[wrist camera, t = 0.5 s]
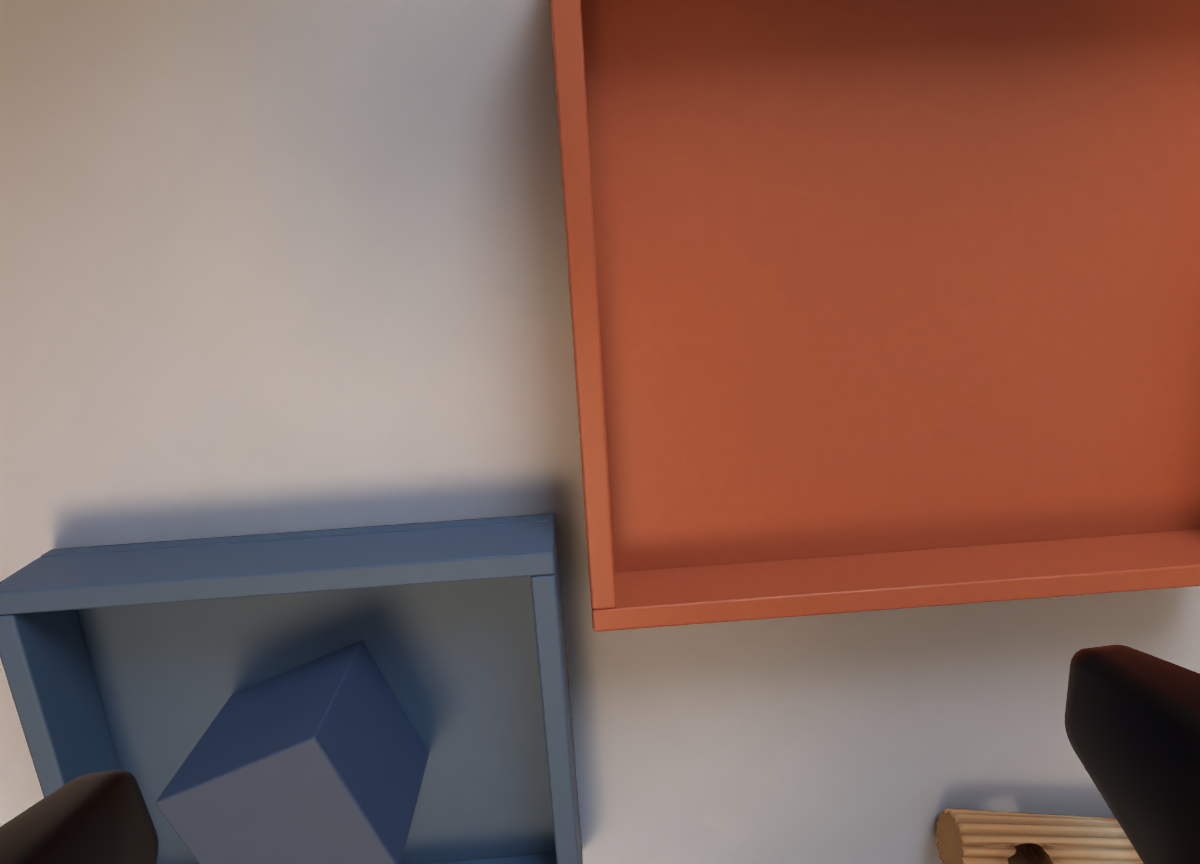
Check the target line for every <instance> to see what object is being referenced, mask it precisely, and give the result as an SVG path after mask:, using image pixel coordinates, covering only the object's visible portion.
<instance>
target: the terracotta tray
mask: <svg viewBox="0 0 1200 864" xmlns="http://www.w3.org/2000/svg"><path fill="white" fill-rule="evenodd" d="M550 12H551V26H552V41H553V55H554V70H555V84H556V99H557V113H558V128H559V142H560V157H561V171H562V186H563V200H564V215H565V229H566V244H567V258H568V273H569V287H570V302H571V316H572V331H573V345H574V360H575V374H576V389H577V403H578V418H579V432H580V447H581V461H582V476H583V490H584V505H585V519H586V534H587V549H588V563H589V578H590V592H591V606H592V621H593V629H594V631H609V630H622V629H636V628H649V627H662V626H675V625H688V624H701V623H715V622H728V621H741V620H754V619H767V618H780V617H794V616H807V615H820V614H833V613H846V612H859V611H873V610H886V609H899V608H912V607H925V606H938V605H952V604H965V603H978V602H991V601H1004V600H1017V599H1031V598H1044V597H1057V596H1070V595H1083V594H1097V593H1110V592H1123V591H1136V590H1149V589H1162V588H1176V587H1189V586H1200V0H550Z"/></svg>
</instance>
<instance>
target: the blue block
mask: <svg viewBox="0 0 1200 864" xmlns="http://www.w3.org/2000/svg"><path fill="white" fill-rule="evenodd" d="M428 757H429V752H428V750H427V748H426V747H425V745H424V743H423V742H422V740H421V738H420V737H419V735H418V733H417V731H416V730H415V728H414V726H413V725H412V723H411V721H410V720H409V718H408V716H407V715H406V713H405V711H404V710H403V708H402V706H401V705H400V703H399V701H398V700H397V698H396V696H395V694H394V693H393V691H392V689H391V688H390V686H389V684H388V683H387V681H386V679H385V678H384V676H383V674H382V673H381V671H380V669H379V668H378V666H377V664H376V663H375V661H374V659H373V657H372V656H371V654H370V652H369V651H368V649H367V647H366V646H365V644H364V642H363V641H359V642H356V643H354V644H352V645H349V646H347V647H344V648H342V649H340V650H337V651H335V652H332V653H330V654H328V655H325V656H323V657H320V658H318V659H316V660H313V661H311V662H309V663H306V664H304V665H301V666H299V667H297V668H294V669H292V670H289V671H287V672H285V673H282V674H280V675H277V676H275V677H273V678H270V679H268V680H265V681H263V682H261V683H258V684H256V685H254V686H251V687H249V688H246V689H244V690H242V691H239V692H237V693H234V694H232V695H231V696H230V698H229V699H228V701H227V702H226V703H225V705H224V706H223V708H222V709H221V710H220V712H219V713H218V715H217V716H216V717H215V719H214V720H213V722H212V723H211V724H210V726H209V727H208V729H207V730H206V732H205V733H204V734H203V736H202V737H201V739H200V740H199V741H198V743H197V744H196V746H195V747H194V748H193V750H192V751H191V753H190V754H189V755H188V757H187V758H186V760H185V761H184V762H183V764H182V765H181V767H180V768H179V769H178V771H177V772H176V774H175V775H174V777H173V778H172V779H171V781H170V782H169V784H168V785H167V786H166V788H165V789H164V791H163V792H162V793H161V795H160V796H159V798H158V799H157V800H156V802H155V804H156V806H157V807H158V808H159V810H160V811H161V812H162V814H163V815H164V817H165V818H166V819H167V821H168V822H169V823H170V825H171V826H172V827H173V829H174V830H175V831H176V833H177V834H178V836H179V837H180V838H181V840H182V841H183V842H184V844H185V845H186V846H187V848H188V849H189V850H190V852H191V853H192V855H193V856H194V857H195V859H196V860H197V861H198V863H199V864H401V861H402V858H403V854H404V850H405V846H406V842H407V838H408V834H409V830H410V827H411V823H412V819H413V815H414V811H415V807H416V803H417V799H418V796H419V792H420V788H421V784H422V780H423V776H424V772H425V768H426V765H427V761H428Z"/></svg>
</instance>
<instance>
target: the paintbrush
mask: <svg viewBox="0 0 1200 864" xmlns="http://www.w3.org/2000/svg"><path fill="white" fill-rule="evenodd" d="M936 823H937V830H936V832H935V834H936V837H937V839H938V840H937V844H936V846H937V848H938V849H939V858H940V859H941V860H943V864H1143V862H1142V860H1141V859H1140V857H1139V855H1138V854H1137V852H1136V850H1135V849H1134V847H1133V846H1132V844H1131V842H1130V841H1129V839H1128V837H1127V836H1126V834H1125V833H1124V831H1123V829H1122V828H1121V826H1120V824H1119V823H1118V821H1117V819H1115V818H1098V817H1081V816H1064V815H1047V814H1030V813H1013V812H996V811H979V810H962V809H945V810H944V811H943V813H941V814H939V821H937V822H936Z"/></svg>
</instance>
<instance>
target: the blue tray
mask: <svg viewBox="0 0 1200 864" xmlns="http://www.w3.org/2000/svg"><path fill="white" fill-rule="evenodd" d="M359 641H363V642H364V644H365V646H366V647H367V649H368V651H369V652H370V654H371V656H372V657H373V659H374V661H375V663H376V664H377V666H378V668H379V669H380V671H381V673H382V674H383V676H384V678H385V679H386V681H387V683H388V684H389V686H390V688H391V689H392V691H393V693H394V694H395V696H396V698H397V700H398V701H399V703H400V705H401V706H402V708H403V710H404V711H405V713H406V715H407V716H408V718H409V720H410V721H411V723H412V725H413V726H414V728H415V730H416V731H417V733H418V735H419V737H420V738H421V740H422V742H423V743H424V745H425V747H426V748H427V750H428V752H429V757H428V761H427V765H426V768H425V772H424V776H423V780H422V784H421V788H420V792H419V796H418V799H417V803H416V807H415V811H414V815H413V819H412V823H411V827H410V830H409V834H408V838H407V842H406V846H405V850H404V854H403V858H402V861H401V864H582V863H583V861H582V843H581V831H580V818H579V806H578V793H577V781H576V768H575V756H574V744H573V731H572V719H571V706H570V694H569V682H568V669H567V657H566V644H565V632H564V620H563V607H562V595H561V582H560V570H559V558H558V545H557V533H556V520H555V514H540V515H526V516H512V517H498V518H484V519H470V520H456V521H442V522H428V523H414V524H400V525H386V526H372V527H358V528H344V529H330V530H316V531H302V532H288V533H274V534H260V535H246V536H232V537H218V538H205V539H191V540H177V541H163V542H149V543H135V544H121V545H107V546H93V547H79V548H65V549H52V550H50V551H48V552H47V553H45V554H44V555H42V556H41V557H40V558H38V559H36V560H35V561H33V562H31V563H30V564H28V565H27V566H25V567H24V568H22V569H20V570H19V571H17V572H16V573H14V574H12V575H11V576H9V577H8V578H6V579H5V580H3V581H1V582H0V657H1V661H2V664H3V667H4V670H5V673H6V677H7V680H8V683H9V686H10V689H11V693H12V696H13V699H14V702H15V705H16V709H17V712H18V715H19V718H20V721H21V725H22V728H23V731H24V734H25V737H26V741H27V744H28V747H29V750H30V753H31V757H32V760H33V763H34V766H35V769H36V773H37V776H38V779H39V782H40V785H41V789H42V792H43V795H44V798H45V797H47V796H48V795H50V794H51V793H53V792H54V791H56V790H57V789H59V788H60V787H62V786H64V785H65V784H67V783H68V782H70V781H71V780H73V779H74V778H76V777H78V776H81V775H84V774H88V773H96V772H104V771H112V770H125V771H128V772H130V773H131V774H132V775H133V776H134V777H135V778H136V780H137V782H138V785H139V787H140V790H141V793H142V795H143V798H144V800H145V803H146V806H147V808H148V811H149V813H150V816H151V819H152V821H153V824H154V826H155V829H156V832H157V835H158V844H159V846H158V856H157V861H156V864H199V863H198V861H197V860H196V859H195V857H194V856H193V855H192V853H191V852H190V850H189V849H188V848H187V846H186V845H185V844H184V842H183V841H182V840H181V838H180V837H179V836H178V834H177V833H176V831H175V830H174V829H173V827H172V826H171V825H170V823H169V822H168V821H167V819H166V818H165V817H164V815H163V814H162V812H161V811H160V810H159V808H158V807H157V806H156V804H155V802H156V800H157V799H158V798H159V796H160V795H161V793H162V792H163V791H164V789H165V788H166V786H167V785H168V784H169V782H170V781H171V779H172V778H173V777H174V775H175V774H176V772H177V771H178V769H179V768H180V767H181V765H182V764H183V762H184V761H185V760H186V758H187V757H188V755H189V754H190V753H191V751H192V750H193V748H194V747H195V746H196V744H197V743H198V741H199V740H200V739H201V737H202V736H203V734H204V733H205V732H206V730H207V729H208V727H209V726H210V724H211V723H212V722H213V720H214V719H215V717H216V716H217V715H218V713H219V712H220V710H221V709H222V708H223V706H224V705H225V703H226V702H227V701H228V699H229V698H230V696H231V695H232V694H234V693H237V692H239V691H242V690H244V689H246V688H249V687H251V686H254V685H256V684H258V683H261V682H263V681H265V680H268V679H270V678H273V677H275V676H277V675H280V674H282V673H285V672H287V671H289V670H292V669H294V668H297V667H299V666H301V665H304V664H306V663H309V662H311V661H313V660H316V659H318V658H320V657H323V656H325V655H328V654H330V653H332V652H335V651H337V650H340V649H342V648H344V647H347V646H349V645H352V644H354V643H356V642H359Z"/></svg>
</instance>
